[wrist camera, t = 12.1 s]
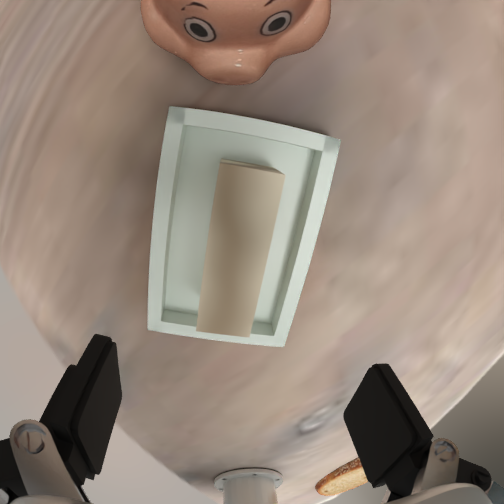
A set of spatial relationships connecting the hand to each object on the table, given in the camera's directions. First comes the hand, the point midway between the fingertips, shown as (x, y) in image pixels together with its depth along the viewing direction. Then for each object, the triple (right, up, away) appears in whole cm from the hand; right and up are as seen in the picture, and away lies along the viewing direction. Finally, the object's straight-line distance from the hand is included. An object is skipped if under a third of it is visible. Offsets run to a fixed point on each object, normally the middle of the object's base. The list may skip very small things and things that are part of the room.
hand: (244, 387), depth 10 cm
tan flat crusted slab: (+22, -41, +36) cm, 59 cm away
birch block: (-1, +6, +14) cm, 15 cm away
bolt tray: (-1, +6, +15) cm, 16 cm away
